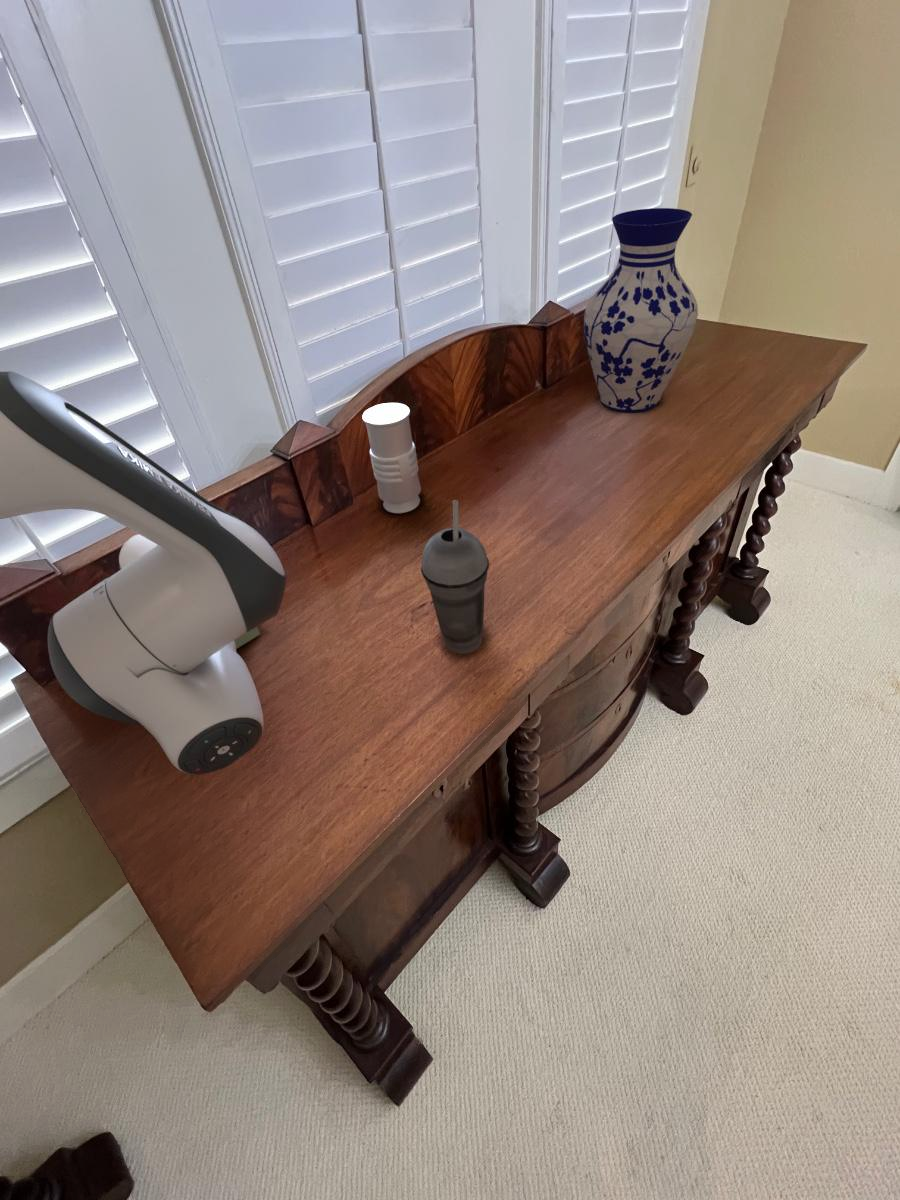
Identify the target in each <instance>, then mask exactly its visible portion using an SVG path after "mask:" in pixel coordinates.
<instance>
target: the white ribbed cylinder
mask: <svg viewBox="0 0 900 1200" xmlns="http://www.w3.org/2000/svg"><path fill="white" fill-rule="evenodd" d="M410 415H411V410H410V408H409V407H408V406H407V405H406V404H404V403H399V402H386V403H380V404H376V405H374V406H372V407H369V408H368V409H366V410H365V411H364V412H363V414H362V421H363V422H364V424H365V426H366V432H367V436H368V441H369V442H368V443H369V447H370V449H369V451H368V452H369V457H370V462H371V465H372V466H371V467H372V471H373V477H374V479H375V480H376V485H377V494H378V497H379V499H380V500H382V501H383V503H382V505H383V508H384V509H385V510H386V511H387V512H389V513H393V514H403V513H407V512H411V511H413V510H415V509H416V508H417V507H418V506H419V505H420V503H421V498H420V496H419V495H420V493H421V491H422V487H421V483H420V479H419V475H418V473H419V471H420V470H419V465H418V464H419V463H418V457H417V456H418V455H417V452H416V448H417V447H416V443H414V441H413V436H412V430H411V423H410V418H409V417H410Z"/></svg>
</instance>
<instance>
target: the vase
mask: <svg viewBox="0 0 900 1200" xmlns="http://www.w3.org/2000/svg"><path fill="white" fill-rule="evenodd" d="M692 217H693V214H692V212H691V211H690V210H686V209H683V208H675V207H674V208H673V207H672V208H671V207H654V208H653V207H652V208H642V209H634V210H628V211H624V212H620V213H617V214H615V215H614V216H613V217H612V218H611V221H612V225H613V227H614V229H615V232H616V235H617V238H618V241H619V257H618V261H617V265H616V266H615V267H614V270H613V271H612V273H611V274H610V275H609V277H608V278H607V279H606V280H605V281H604V283H603V284H601V286H600V287H599V288H598V289H597V290H596V291H595V293H594V294H593V295H592V296H591V298H590V299H589V301H588V302H587V305H586V307H585V310H584V314H583V332H584V338H585V343H586V348H587V353H588V357H589V360H590V365H591V370H592V373H593V377H594V380H595V381H594V382H595V385H596V388H597V393H598V396H599V402H600V403H601V404H600V405H602V406H603V407H604V408H606V409H609V410H611V411H615V412H619V413H627V414H628V413H630V414H631V413H641V412H646V411H650V410H651V409H652V410H653V408H656V406H658V405H659V403H660V401H661V398H662V397H663V395H664V393H665V392H666V389H667V387H668V385H669V383H670V381H671V380H672V378H673V376H674V374H675V371H676V369H677V367H678V366H679V363H680V362H681V360H682V358H683V356H684V353H685V352H686V350H687V348H688V344H689V343H690V341H691V338H692V337H693V334H694V331H695V328H696V324H697V320H698V316H699V307H698V306H699V305H698V303H697V299H696V297H695V295H694V293H693V292H692V290H691V289H690V287H689V285H688V284H687V282H685V280H684V279H683V277H682V276H681V274H680V272H679V270H678V267H677V265H676V258H675V256H676V248H677V244H678V241H679V239H680V237H681V235H683V232H684V231H685V228H686V227H687V226H688V223H690V220H691V218H692Z"/></svg>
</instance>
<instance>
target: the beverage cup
mask: <svg viewBox="0 0 900 1200" xmlns="http://www.w3.org/2000/svg"><path fill="white" fill-rule="evenodd" d="M487 554H488V553H487V552H486V549H485V547H484V545H483V543H482V541H481V540H480V539H479V538H478V537H477V536H476V535H475V534H473V533H472V532H470V531H468V530H466V529H464V528H461V527H460V528H459V501H458V500H452V527H449V528H444V529H442V530H440V531H438V532H437V533H435V534H434V535H432V536H431V537H430V538H429V540H428V541H427V542H426V545H425V546H424V548H423V552H422V557H421V568H420V573H421V575H422V578H423V579H424V580H425V581H424V582H425V583H426V586H427V589H428V590H429V593H430V597H431V600H432V604H433V607H434V610H435V614H436V618H437V622H438V626H439V629H440V633H441V636H442V638H443V640H444V644H445V647H446V648H447V649H448V650H449V651H450V652H452V653H455V654H460V655H462V654H463V655H466V654H469V653H472V652H474V651H477V649H479V647H481V645H482V642H483V633H484V612H485V589H486V588H485V586H486V582H487V578H488V570H489V568H490V561H489V557H488V555H487Z"/></svg>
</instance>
